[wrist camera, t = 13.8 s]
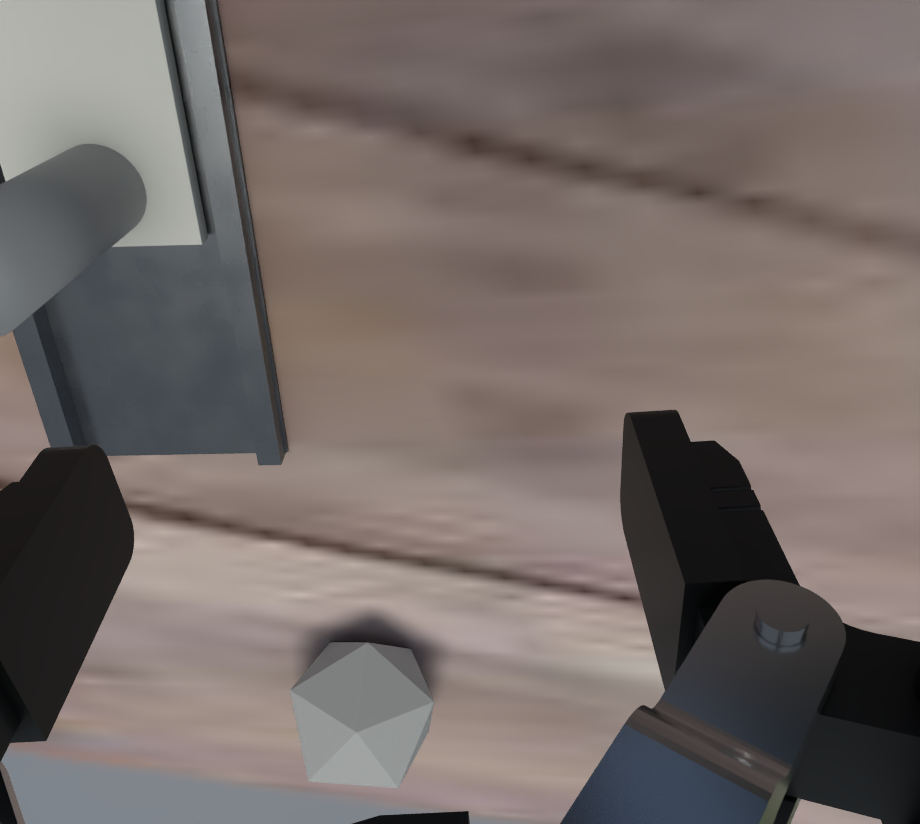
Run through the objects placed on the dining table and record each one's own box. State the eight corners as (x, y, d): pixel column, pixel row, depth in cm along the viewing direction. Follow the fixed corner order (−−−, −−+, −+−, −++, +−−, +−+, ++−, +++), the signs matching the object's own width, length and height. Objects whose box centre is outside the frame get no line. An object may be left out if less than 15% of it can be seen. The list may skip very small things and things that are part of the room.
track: (-206, -404, 27) (-238, -421, 26) (150, -421, 27) (135, -438, 26) (67, 454, 44) (56, 468, 43) (288, 450, 44) (283, 464, 43)
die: (296, 692, 54) (357, 833, 49) (243, 661, 47) (308, 823, 42) (403, 626, 55) (473, 758, 50) (367, 585, 48) (445, 736, 43)
